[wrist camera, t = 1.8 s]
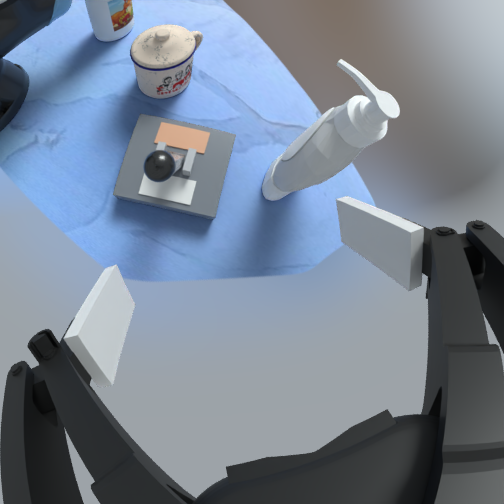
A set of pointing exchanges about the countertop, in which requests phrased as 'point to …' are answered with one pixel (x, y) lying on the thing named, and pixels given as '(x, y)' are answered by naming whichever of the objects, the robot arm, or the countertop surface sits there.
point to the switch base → (184, 179)
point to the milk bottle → (110, 18)
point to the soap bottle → (331, 140)
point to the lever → (162, 165)
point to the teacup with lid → (164, 59)
